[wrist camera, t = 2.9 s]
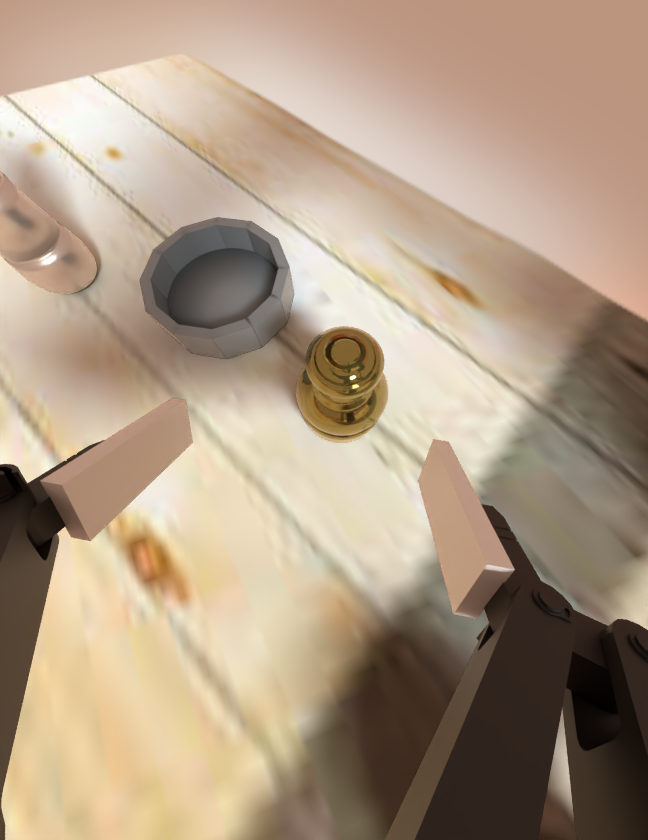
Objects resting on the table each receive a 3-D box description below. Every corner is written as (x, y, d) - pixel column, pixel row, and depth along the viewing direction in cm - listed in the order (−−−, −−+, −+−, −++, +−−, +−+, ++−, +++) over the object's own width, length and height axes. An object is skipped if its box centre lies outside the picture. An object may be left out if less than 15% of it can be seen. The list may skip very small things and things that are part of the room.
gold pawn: (338, 356, 26) (341, 278, 17) (395, 404, 25) (435, 348, 15) (285, 407, 25) (256, 353, 16) (342, 461, 24) (350, 438, 14)
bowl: (303, 256, 30) (300, 226, 27) (275, 366, 26) (267, 347, 23) (187, 242, 31) (170, 212, 28) (145, 346, 27) (119, 325, 24)
